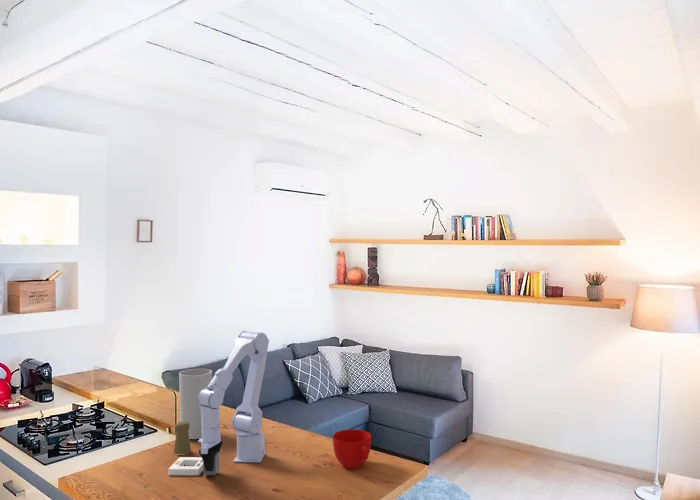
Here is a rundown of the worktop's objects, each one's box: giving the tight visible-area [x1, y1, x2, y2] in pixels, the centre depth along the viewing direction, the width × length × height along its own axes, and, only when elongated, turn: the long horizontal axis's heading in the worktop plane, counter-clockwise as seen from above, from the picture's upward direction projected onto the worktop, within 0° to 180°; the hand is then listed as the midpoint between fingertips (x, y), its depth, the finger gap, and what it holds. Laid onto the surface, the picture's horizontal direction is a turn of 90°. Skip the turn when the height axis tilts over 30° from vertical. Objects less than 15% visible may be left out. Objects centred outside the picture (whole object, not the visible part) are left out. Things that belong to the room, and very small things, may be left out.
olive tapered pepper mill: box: [173, 421, 192, 455], centre depth 195 cm, size 6×6×11 cm
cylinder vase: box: [178, 368, 213, 439], centre depth 213 cm, size 12×12×25 cm
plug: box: [202, 452, 220, 476], centre depth 175 cm, size 4×4×7 cm
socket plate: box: [167, 456, 203, 476], centre depth 180 cm, size 10×10×2 cm
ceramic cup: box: [332, 428, 372, 470], centre depth 180 cm, size 13×17×10 cm
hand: (211, 467), depth 175 cm, fingers closed on plug, 4 cm apart
